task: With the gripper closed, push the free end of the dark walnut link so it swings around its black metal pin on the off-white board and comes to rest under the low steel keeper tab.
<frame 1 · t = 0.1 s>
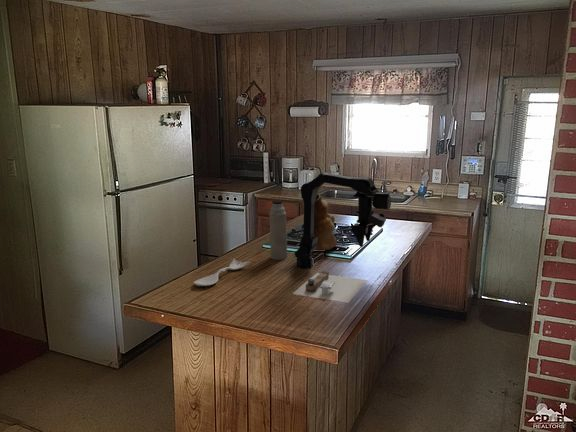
hand: (364, 243, 206), 15 cm above the countertop, tool pointing down, fingers open, 9 cm apart
ceramic vessel: (319, 250, 248), on the countertop
spoon: (221, 277, 214), on the countertop
base board: (331, 288, 197), on the countertop
keeper: (327, 287, 191), on the base board, point 3 cm above the countertop
thermos bottle: (279, 257, 238), on the countertop
link: (318, 281, 199), point 2 cm above the countertop, hinge at 75.0°
pintle pin: (311, 282, 193), point 4 cm above the countertop
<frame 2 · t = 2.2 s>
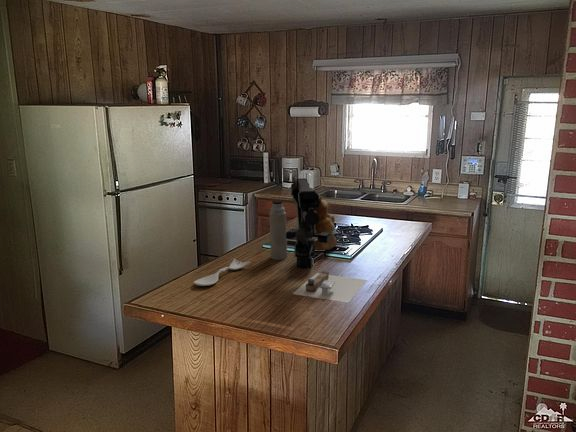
hand: (308, 255, 205), 11 cm above the countertop, tool pointing down, fingers closed
nothing on the countertop moved.
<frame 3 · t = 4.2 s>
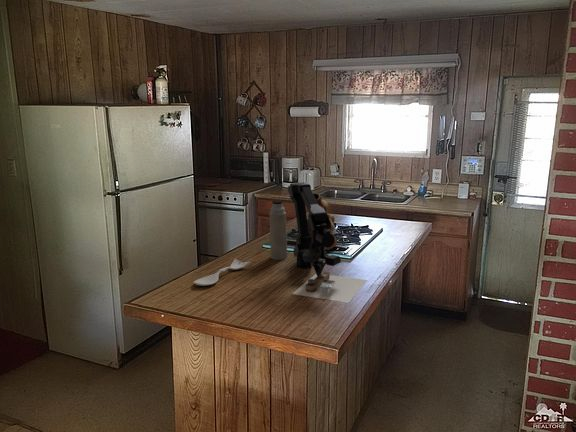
hand: (318, 276, 205), 2 cm above the countertop, tool pointing down, fingers closed
link: (318, 281, 199), point 2 cm above the countertop, hinge at 73.4°, touching gripper
everything else where it was.
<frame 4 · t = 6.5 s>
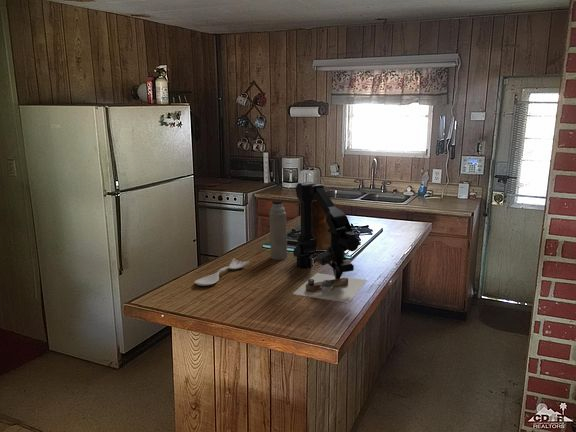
hand: (337, 280, 200), 2 cm above the countertop, tool pointing down, fingers closed
link: (327, 284, 196), point 2 cm above the countertop, hinge at 32.6°, touching gripper
everything else where it was.
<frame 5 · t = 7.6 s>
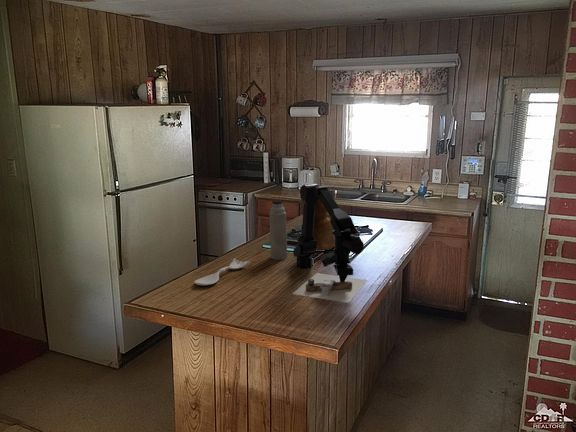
hand: (341, 283, 197), 2 cm above the countertop, tool pointing down, fingers closed
link: (329, 286, 194), point 2 cm above the countertop, hinge at 15.6°, touching gripper
everything else where it was.
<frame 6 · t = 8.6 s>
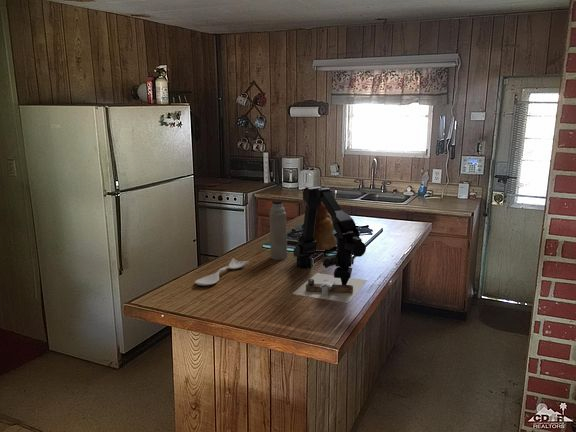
hand: (344, 286, 193), 2 cm above the countertop, tool pointing down, fingers closed
link: (329, 288, 192), point 2 cm above the countertop, hinge at 0.7°, touching gripper
everything else where it was.
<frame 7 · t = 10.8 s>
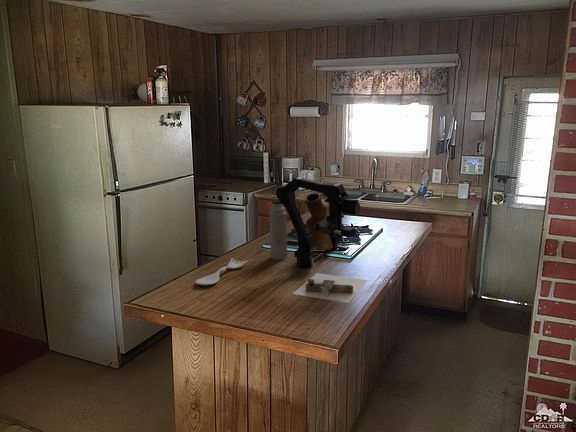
hand: (334, 247, 211), 12 cm above the countertop, tool pointing down, fingers closed
link: (329, 288, 192), point 2 cm above the countertop, hinge at 0.4°
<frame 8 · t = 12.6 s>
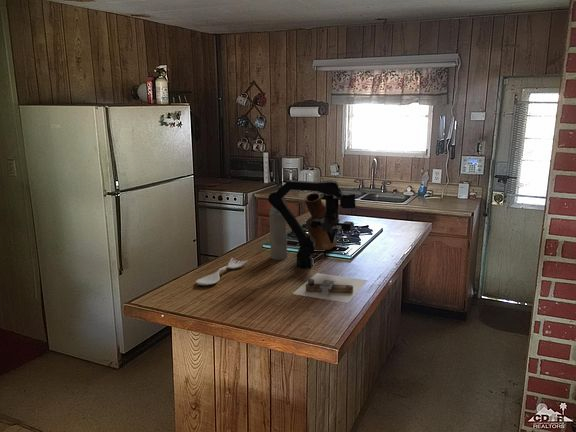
hand: (332, 243, 217), 12 cm above the countertop, tool pointing down, fingers closed
at the end: link at +0° (first picture: +75°) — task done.
